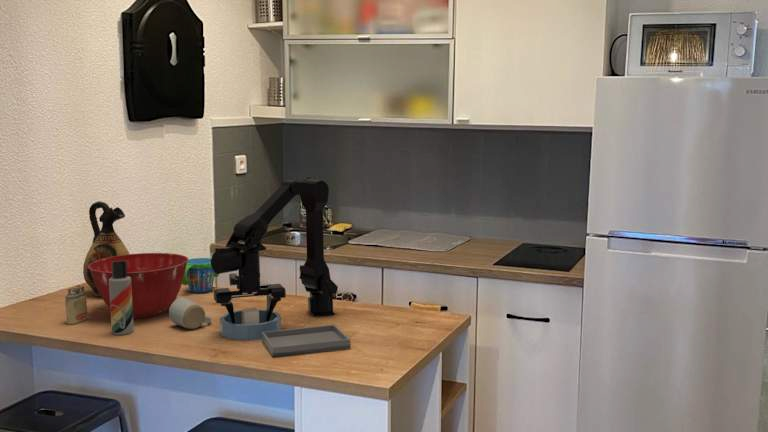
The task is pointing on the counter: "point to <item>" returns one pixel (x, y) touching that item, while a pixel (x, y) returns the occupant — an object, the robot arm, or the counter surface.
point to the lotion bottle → (121, 299)
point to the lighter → (76, 305)
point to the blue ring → (248, 326)
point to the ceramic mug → (187, 314)
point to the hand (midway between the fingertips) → (250, 324)
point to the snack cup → (199, 275)
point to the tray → (305, 340)
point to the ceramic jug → (103, 239)
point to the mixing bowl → (144, 280)
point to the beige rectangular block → (250, 316)
